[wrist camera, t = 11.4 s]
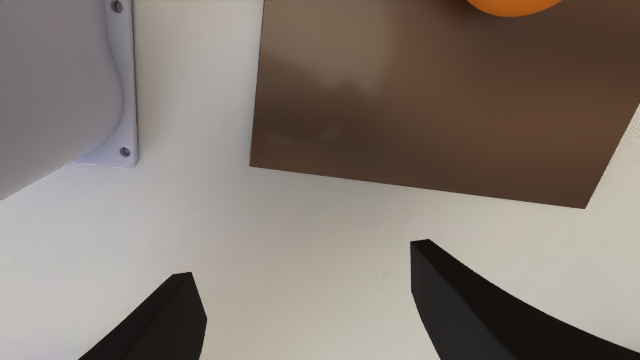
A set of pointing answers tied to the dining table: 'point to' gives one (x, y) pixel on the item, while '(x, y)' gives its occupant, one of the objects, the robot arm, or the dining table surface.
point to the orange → (512, 6)
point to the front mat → (448, 94)
